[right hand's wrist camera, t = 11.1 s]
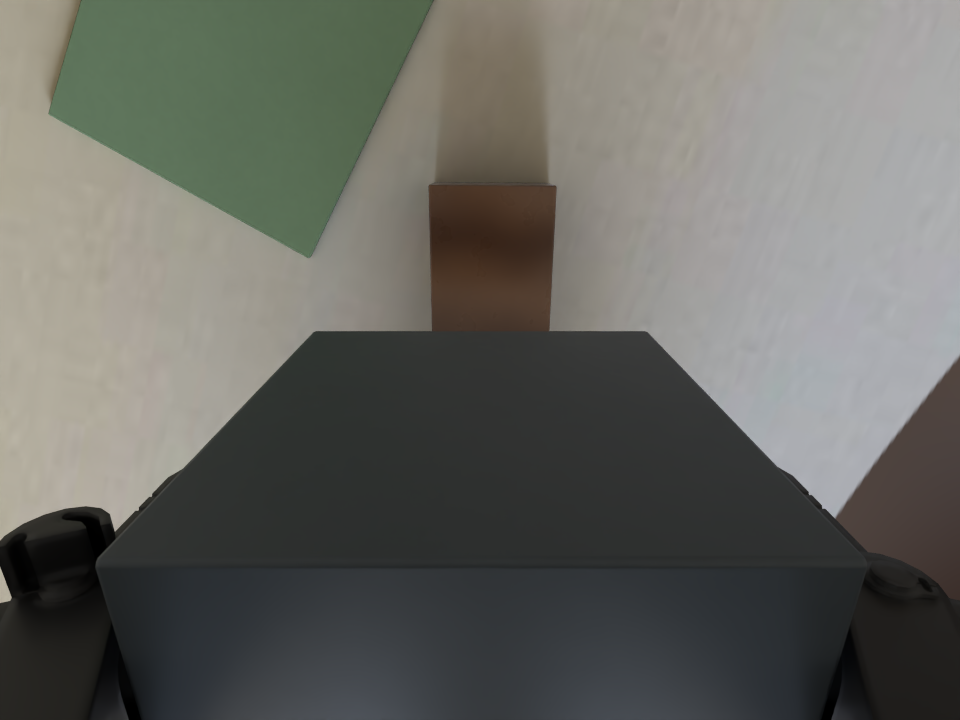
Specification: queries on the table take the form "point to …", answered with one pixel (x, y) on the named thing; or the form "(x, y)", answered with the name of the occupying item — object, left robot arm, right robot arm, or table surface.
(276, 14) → the green mat
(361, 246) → the table surface
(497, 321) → the base plank
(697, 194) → the table surface
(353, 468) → the slate block
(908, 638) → the right robot arm
